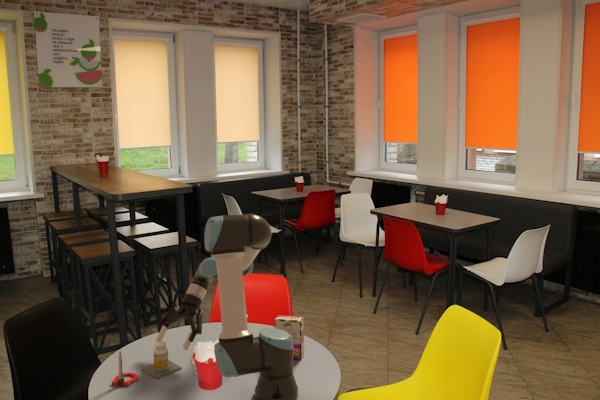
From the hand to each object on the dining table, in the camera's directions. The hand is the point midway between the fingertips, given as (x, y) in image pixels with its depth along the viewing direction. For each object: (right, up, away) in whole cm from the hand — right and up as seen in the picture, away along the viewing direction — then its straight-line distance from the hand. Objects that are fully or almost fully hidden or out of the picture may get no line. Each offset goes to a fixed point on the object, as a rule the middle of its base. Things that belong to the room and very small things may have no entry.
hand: (171, 345), depth 215 cm
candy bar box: (+46, -6, +7) cm, 47 cm away
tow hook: (-14, -10, -13) cm, 21 cm away
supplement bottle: (-3, -8, -4) cm, 9 cm away
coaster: (-3, -8, -4) cm, 9 cm away
